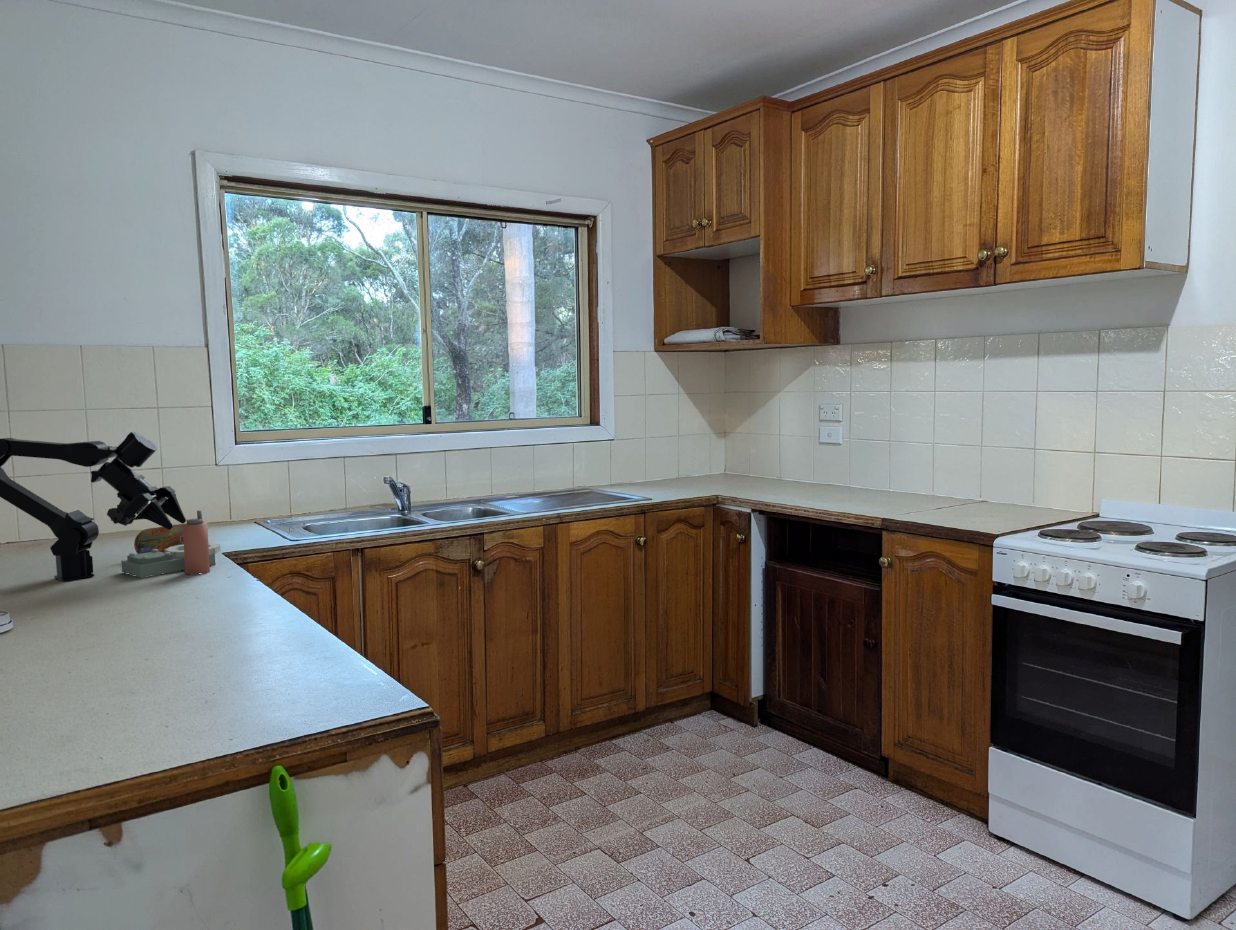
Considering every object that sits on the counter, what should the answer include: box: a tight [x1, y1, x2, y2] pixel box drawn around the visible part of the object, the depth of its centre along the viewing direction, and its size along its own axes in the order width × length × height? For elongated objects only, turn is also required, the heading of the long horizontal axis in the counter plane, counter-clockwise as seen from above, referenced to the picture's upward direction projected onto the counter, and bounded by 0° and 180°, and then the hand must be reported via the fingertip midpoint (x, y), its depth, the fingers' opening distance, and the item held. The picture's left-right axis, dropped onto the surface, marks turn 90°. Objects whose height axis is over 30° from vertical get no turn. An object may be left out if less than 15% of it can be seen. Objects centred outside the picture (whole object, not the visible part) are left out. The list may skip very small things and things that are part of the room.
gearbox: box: [120, 542, 221, 578], centre depth 213 cm, size 21×12×5 cm, turn 143°
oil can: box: [183, 510, 211, 575], centre depth 207 cm, size 5×5×15 cm
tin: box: [133, 523, 184, 554], centre depth 227 cm, size 15×3×8 cm, turn 143°
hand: (178, 525), depth 206 cm, fingers open, 9 cm apart
